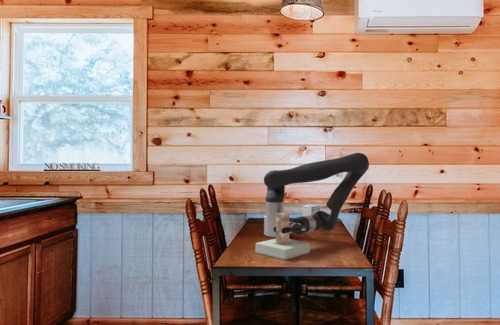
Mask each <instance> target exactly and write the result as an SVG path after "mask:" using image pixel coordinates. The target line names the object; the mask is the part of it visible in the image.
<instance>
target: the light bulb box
mask: <svg viewBox="0 0 500 325" xmlns="http://www.w3.org/2000/svg"><path fill="white" fill-rule="evenodd" d="M301 207H302V208H301V211H302V215H301V217H302V216H311V215H313V214H315V213H316V212H318V211H321V205H320V204H314V203H313V204H312V203H311V204H306V205H302V206H301Z"/></svg>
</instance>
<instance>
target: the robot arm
mask: <svg viewBox="0 0 500 325" xmlns="http://www.w3.org/2000/svg"><path fill="white" fill-rule="evenodd" d="M369 161H370V160H369V158H368V156H367V155H365V153H363V152H362V153H361V152H354V153H351V154H348V155H345V156H342V157H341V156H340V157H338V158H332V159H326V160H321V161H314V162H309V163H305V164H302V165H298V166H295V167H292V168H288V169H280V170H276V169H275V170H270V171H268V172H267V173H266V174H265V175H264V177H263V183H264V185H265V187H266V188H267V189H266V190H267V192H266V196H265V215H264V217H263V235H265V236H266V237H271V238H276V214H277V213H285V210H284V209H285V208H284V204H285V203H284V201H285V194H286V193H285V192H286V188H285V187H286V186H287V185H291V184H303V183H311V182H312V183H313V182H318V181H322V180H326V179H328V178H331V177H333V176H336V175H338V174H341V173H342V174H343V173H346V174H345V176H344V177H343V179H342V181H341V182H340V183H339V184H338V186H336V188H335V189H334V191H333V192H331V193H332V194H331V195H330V197H329V199H328V200H327V202H326V208H328V209H329V210H330V214H329V213H327V212H326V211H324V210H320V211H318V212H316V213H315V214H313V215H311V216H302V215H301V216H298V217H294V218H293V219H292V220H291V221H289V227H285V228H282V229H281V232H282V233H283V234H284V233H288V232H289V234H291V233H292V234H295V235H304V234H308V233H312V232H315V231H318V230H320V229H321V228H323V229H324V230H325V231H328V232H329V231H331V230H334V228H335V227H336V226H337V223H338V218H339V215H340V211H341V209H342V208H343V206H344V205H345V202H346V201H347V200H348V197H350V196H349V195H350V194H351V193H352V190H353V189H354V187H355V186H356V185H357V183H359V182H358V181H359V180H360V179H361V178H362V177H363V176H364V175H365V174H366V172H367V171H368V170H369V168H370V162H369Z"/></svg>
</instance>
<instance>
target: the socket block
mask: <svg viewBox="0 0 500 325" xmlns="http://www.w3.org/2000/svg"><path fill="white" fill-rule="evenodd" d="M310 245H311V244H310V243H309V242H305V241H301V240H295V239H290V238H289V244H288V245H284V246H283V245H278V244H276V238H272V239H268V240H263V241H259V242H258V241H257V242H255V251H254V252H255V253H256V254H259V255H263V256H267V257H270V258H275V259H279V260H283V261H287V260H290V259H293V258H296V257H301V256H304V255H308V254H310V253H311V252H310V249H311V248H310V247H311V246H310Z"/></svg>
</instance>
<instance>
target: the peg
mask: <svg viewBox="0 0 500 325" xmlns="http://www.w3.org/2000/svg"><path fill="white" fill-rule="evenodd" d="M289 222H290V213H288V212H287V213H286V212H284V213H277V214H276V237H275V239H276V244H278V245H283V246H284V245H288V244H289V239H290V233H289V232H288V233H284V234H283V233H282V232H281V229H282V228H285V227H289Z"/></svg>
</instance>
